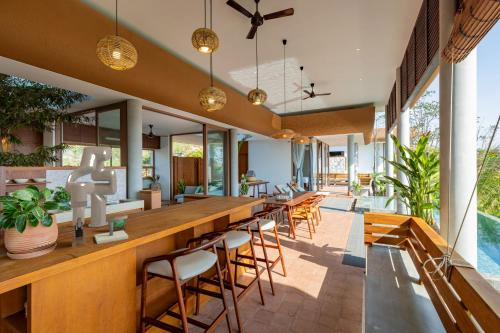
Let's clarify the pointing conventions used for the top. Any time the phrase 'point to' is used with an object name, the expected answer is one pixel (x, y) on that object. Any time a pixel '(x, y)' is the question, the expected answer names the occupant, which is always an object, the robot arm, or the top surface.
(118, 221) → the food container
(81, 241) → the bead
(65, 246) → the top surface
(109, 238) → the post stand
